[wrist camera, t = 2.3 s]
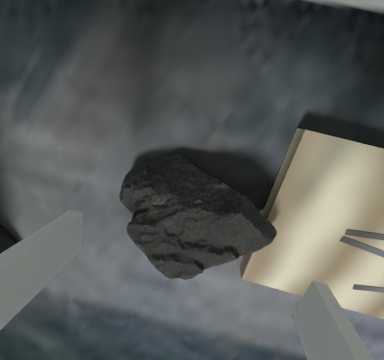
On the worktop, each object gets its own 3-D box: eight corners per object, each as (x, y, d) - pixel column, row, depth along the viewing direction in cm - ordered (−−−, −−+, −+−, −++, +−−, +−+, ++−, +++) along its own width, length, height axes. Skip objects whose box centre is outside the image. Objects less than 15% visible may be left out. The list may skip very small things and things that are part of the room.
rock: (123, 176, 19) (165, 269, 19) (88, 176, 13) (149, 309, 13) (220, 130, 18) (264, 226, 18) (228, 109, 13) (293, 248, 13)
